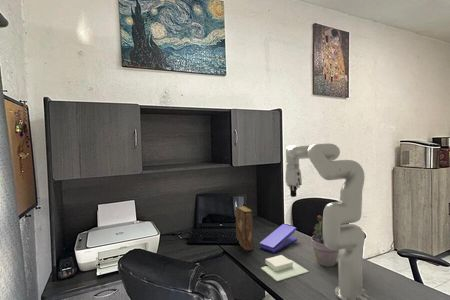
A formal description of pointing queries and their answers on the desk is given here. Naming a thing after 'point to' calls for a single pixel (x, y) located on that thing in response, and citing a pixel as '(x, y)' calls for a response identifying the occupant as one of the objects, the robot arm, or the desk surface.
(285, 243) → the stapler
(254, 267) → the desk surface
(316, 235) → the potted plant
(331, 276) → the desk surface
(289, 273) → the desk mat
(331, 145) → the robot arm
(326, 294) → the desk surface
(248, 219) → the book
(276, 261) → the tile
